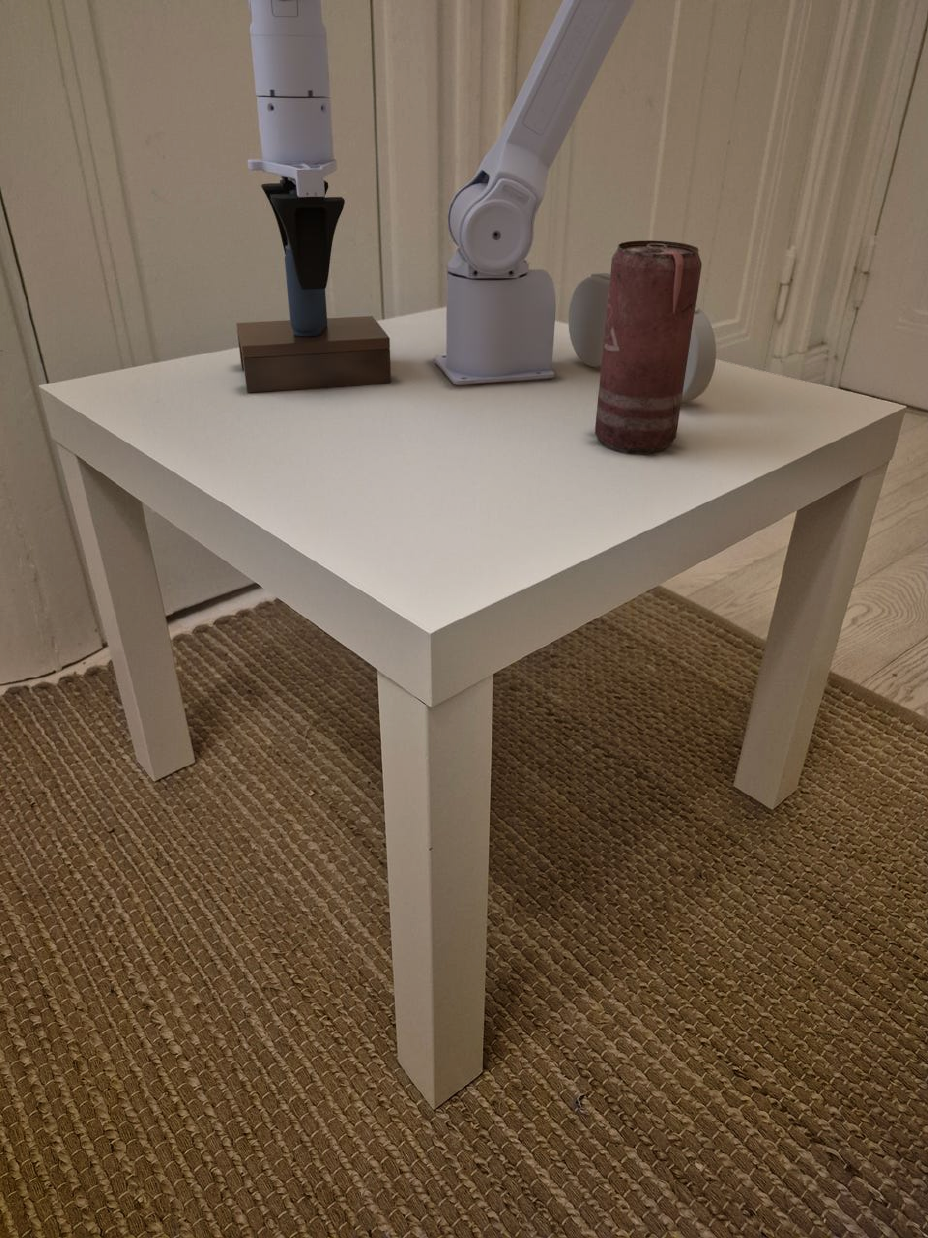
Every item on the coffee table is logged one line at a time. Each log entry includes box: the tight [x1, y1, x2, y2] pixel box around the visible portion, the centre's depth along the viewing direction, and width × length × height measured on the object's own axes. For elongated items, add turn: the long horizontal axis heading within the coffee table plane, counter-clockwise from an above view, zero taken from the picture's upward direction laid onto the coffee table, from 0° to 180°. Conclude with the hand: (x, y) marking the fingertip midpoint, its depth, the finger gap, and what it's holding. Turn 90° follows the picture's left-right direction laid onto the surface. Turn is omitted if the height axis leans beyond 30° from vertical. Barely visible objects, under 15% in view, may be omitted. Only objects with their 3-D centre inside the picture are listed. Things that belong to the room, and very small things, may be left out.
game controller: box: [568, 272, 717, 403], centre depth 79 cm, size 20×2×8 cm, turn 26°
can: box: [594, 239, 703, 455], centre depth 64 cm, size 6×6×14 cm
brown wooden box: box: [235, 315, 392, 394], centre depth 80 cm, size 13×8×4 cm, turn 106°
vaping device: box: [284, 190, 328, 337], centre depth 76 cm, size 3×5×12 cm, turn 174°
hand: (307, 278), depth 77 cm, fingers open, 7 cm apart
